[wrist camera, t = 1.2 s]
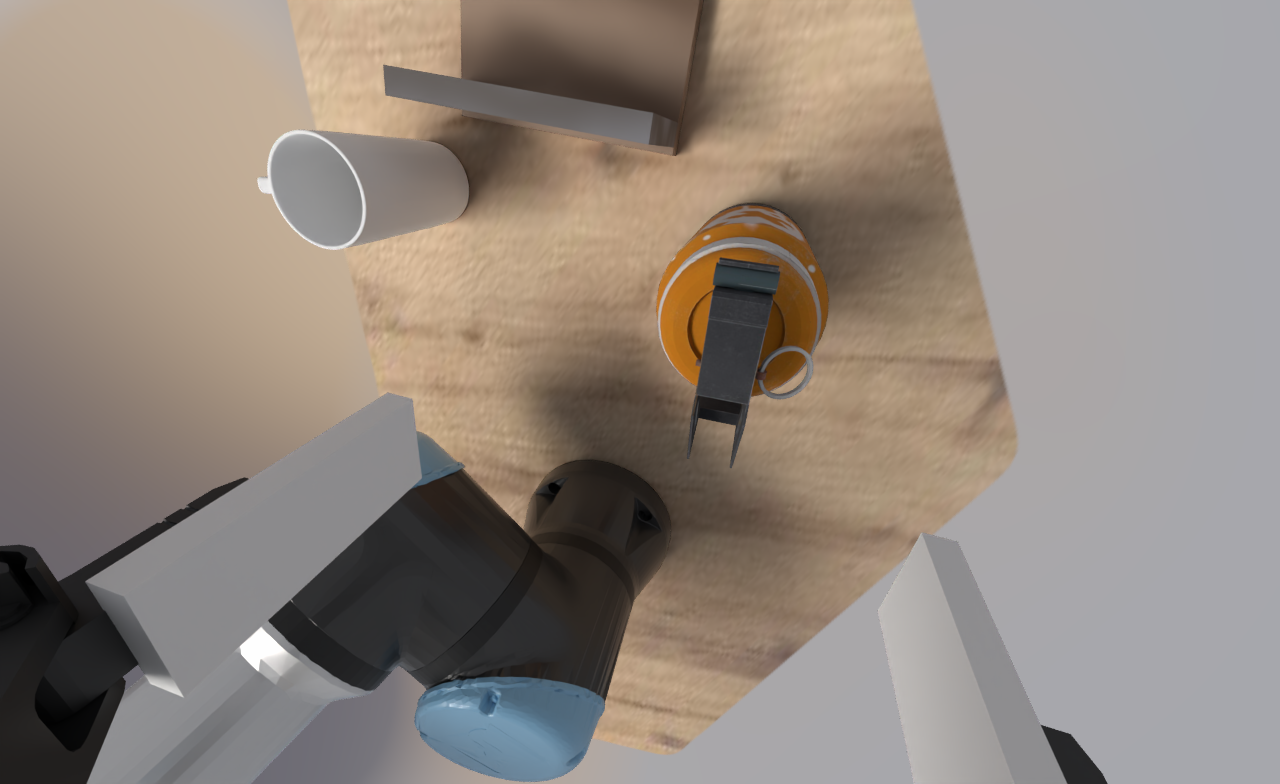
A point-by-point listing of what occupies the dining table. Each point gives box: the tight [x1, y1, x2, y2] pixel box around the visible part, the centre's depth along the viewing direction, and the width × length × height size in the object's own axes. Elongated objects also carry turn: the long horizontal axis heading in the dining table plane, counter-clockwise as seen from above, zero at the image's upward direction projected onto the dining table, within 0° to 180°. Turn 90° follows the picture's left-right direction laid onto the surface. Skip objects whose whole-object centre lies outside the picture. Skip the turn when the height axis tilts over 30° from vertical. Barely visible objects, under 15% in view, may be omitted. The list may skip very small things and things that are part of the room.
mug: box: [258, 130, 469, 250], centre depth 34 cm, size 10×7×12 cm, turn 86°
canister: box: [656, 203, 829, 468], centre depth 28 cm, size 9×11×20 cm
